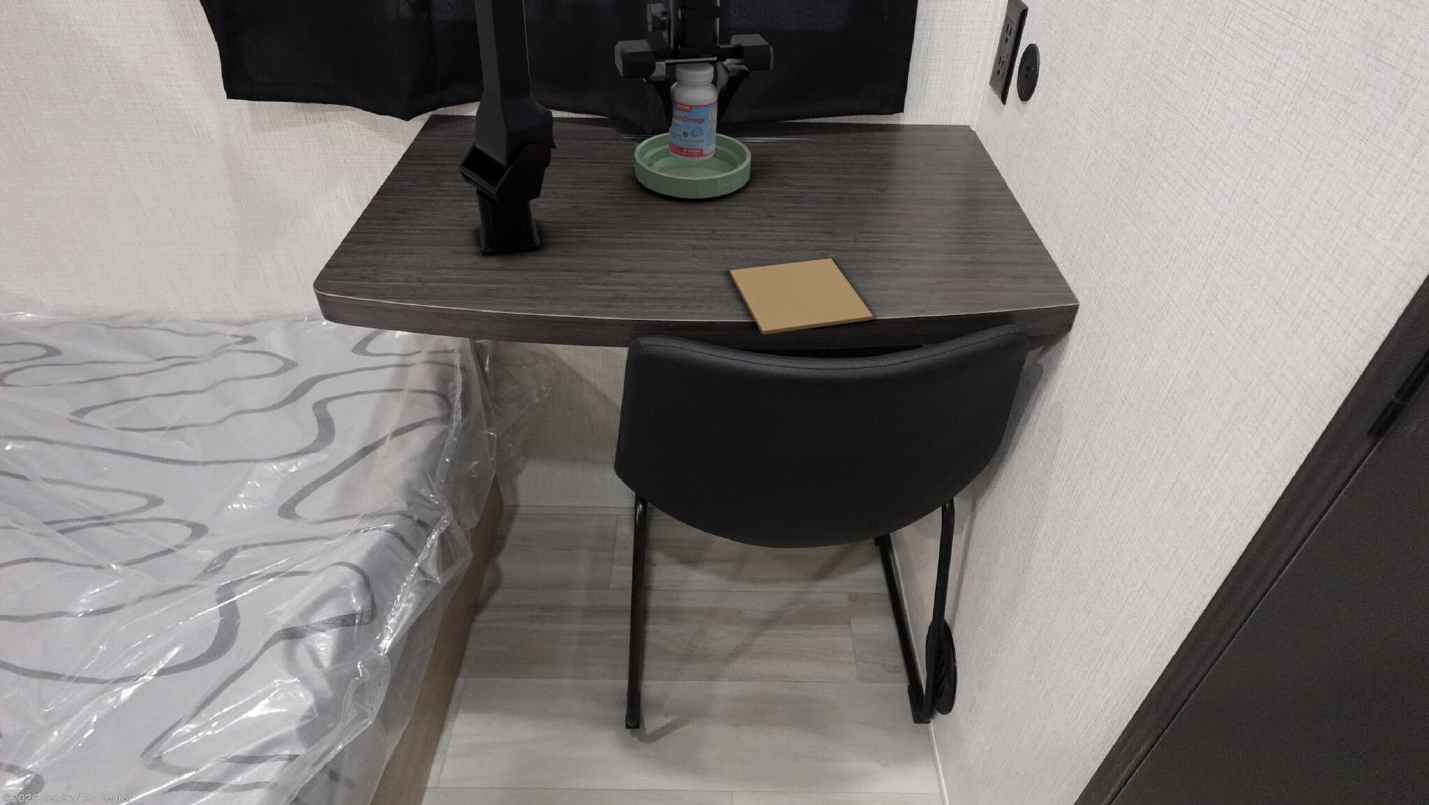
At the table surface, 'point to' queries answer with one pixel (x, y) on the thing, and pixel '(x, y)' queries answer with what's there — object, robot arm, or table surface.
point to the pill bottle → (693, 113)
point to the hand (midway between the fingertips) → (693, 124)
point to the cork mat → (799, 296)
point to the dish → (692, 169)
